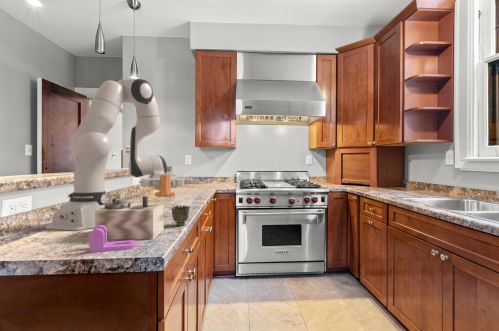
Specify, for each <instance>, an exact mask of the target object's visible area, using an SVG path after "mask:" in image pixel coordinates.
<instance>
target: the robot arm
mask: <svg viewBox="0 0 499 331" xmlns="http://www.w3.org/2000/svg"><path fill="white" fill-rule="evenodd" d="M157 102H158V101H157V99H156V97H155V96H154V90H153V87H152V85H151V83H150V82H148V81H147V80H146V79H143V78H123V79H116V80H110V79H109V80H108V79H107V80H105V81H103V82H102V84H101V85H100V86H99V88H98V89H97V91H96V92H95V95H94V96H93V99H92V100H91V103H90V105H89V108H88V110H87V112H86V113H85V115H84V117H83V119H82V120H81V122H80V124H79V126H78V127H77V129H76V131H75V132H74V134H73V136H72V138H71V139H70V141H69V143H68V149H69V151H70V152H71V154H72V155H74V156H75V157H77V161H76V165H75V169H74V171H73V172H74V173H73V192H71V193H69V194H68V195H67V198H69V201H68V202H66V203H65V204H64V205H63V206H61V207H59V208H58V209H57V210H56V211H54V213H53V216H52V221H51V222H50V223H48V224H46V225H45V230H56V231H57V230H58V231H59V230H60V231H82V230H87V229H95V210H98V209H101V208H104V207H105V203H106V201H107V200H106V191H105V174H106V166H107V162H108V156H109V153H110V151H111V150H112V142H111V139H110V137H109V136H107V135H108V133H109V132H110V131H111V130H112V128H113V127H114V126H115V124H116V121H117V118H118V115H119V113H120V110H121V108H122V105H123V104H124V103H130V104H133V105H134V106H135V114H136V122H135V125H134V126H133V127H132V128H131V131H130V142H129V144H130V145H129V160H128V161H129V162H128V172H129V174H130V175H131V176H133V177H134V178H141V177H144V176H148V178H146V177H144V178H141V180H140V181H138V183H139V184H140V186H141V187H145V188H146V187H149V188H150V187H151V188H153V189H155V190H157V191H159V185H160V175H168V174H167V172H168V165H167V161H166V160H165V158H164V157H163V156H162V155H160V154H156V155H155V154H154V155H149V156H143V157H142V156H141V157H140V156H139V153H140V142H141V141H142V140H143V139H144V138H145V137H148V136H149V135H151V134H153V133H155V132H156V131H157V130H158V129H159V128H160V125H161V117H160V116H161V115H160V111H159V105H158V103H157ZM170 175H171V189H175V188H178V187H184V185H185V180H184V178H183V177H179V176H178V175H176V174H175V175H174V174H170Z"/></svg>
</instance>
